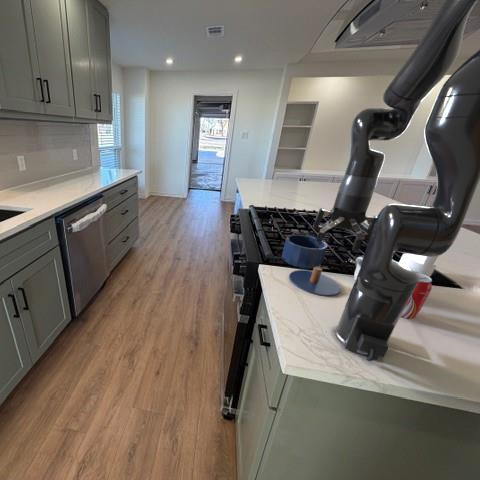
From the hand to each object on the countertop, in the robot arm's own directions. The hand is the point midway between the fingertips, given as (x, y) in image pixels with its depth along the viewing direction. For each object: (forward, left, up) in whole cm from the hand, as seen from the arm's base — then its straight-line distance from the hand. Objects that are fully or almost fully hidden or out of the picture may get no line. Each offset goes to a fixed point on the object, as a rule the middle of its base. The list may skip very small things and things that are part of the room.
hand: (336, 246), depth 74 cm
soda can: (-2, -19, -15) cm, 24 cm away
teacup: (+11, -14, -15) cm, 23 cm away
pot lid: (+2, +2, -15) cm, 15 cm away
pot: (+18, +6, -15) cm, 24 cm away
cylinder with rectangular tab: (+29, -30, -15) cm, 44 cm away
